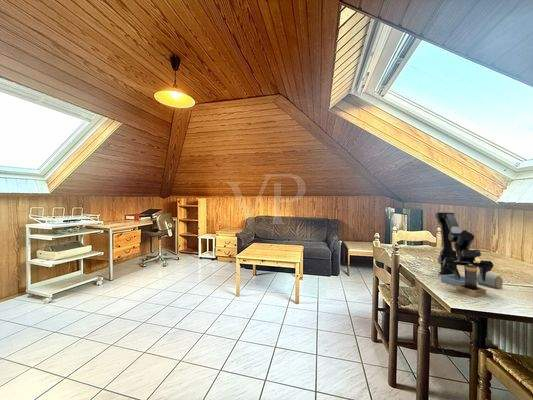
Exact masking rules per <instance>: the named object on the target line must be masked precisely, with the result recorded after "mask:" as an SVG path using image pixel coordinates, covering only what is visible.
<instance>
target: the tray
mask: <svg viewBox="0 0 533 400" xmlns="http://www.w3.org/2000/svg"><path fill="white" fill-rule="evenodd" d="M440 281H441V282H442V283H445V284H449V285H452V286H455V287H456V285H462V284H465V275H464V276H463V275H461V274H460V279H459V278H458V277H457V276H456V275H455V274H451V275H444V274H441V275H440Z"/></svg>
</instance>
